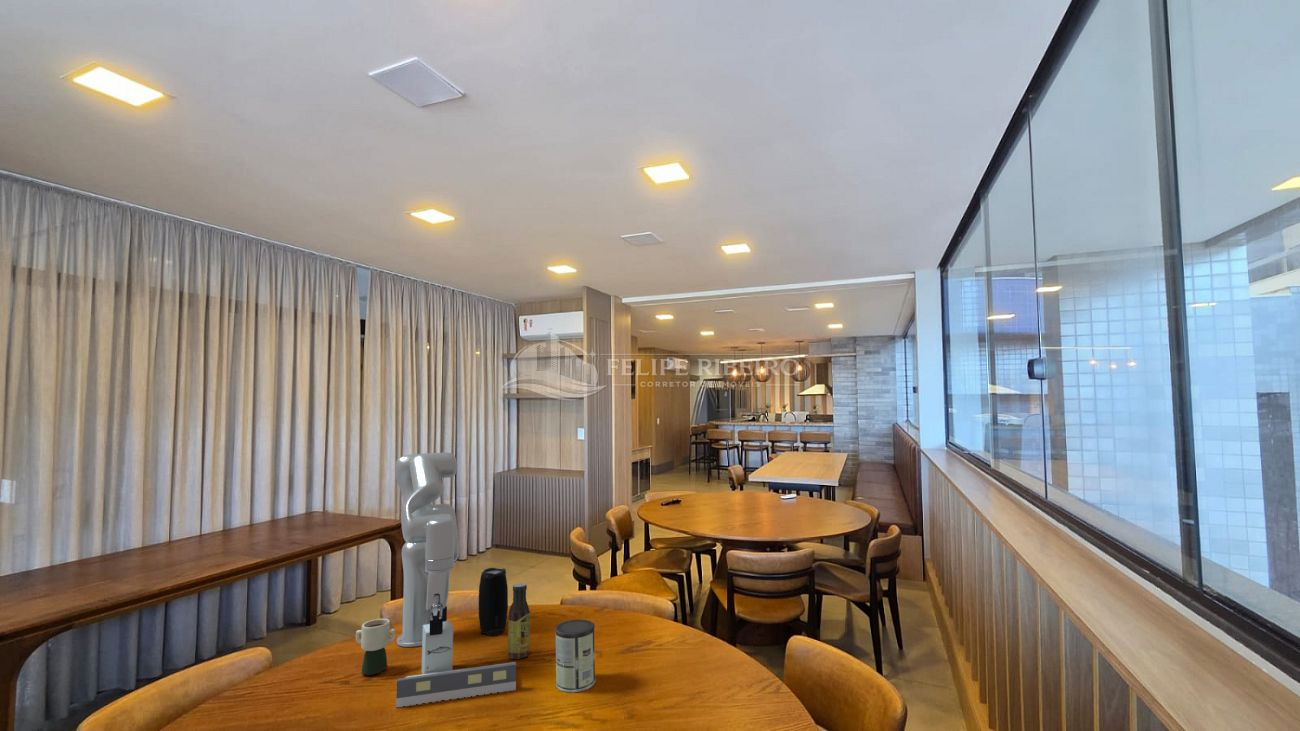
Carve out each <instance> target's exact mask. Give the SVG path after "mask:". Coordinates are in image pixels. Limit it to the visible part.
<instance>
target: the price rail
mask: <svg viewBox="0 0 1300 731" xmlns="http://www.w3.org/2000/svg"><path fill="white" fill-rule="evenodd" d="M509 663H510V664H503V663H501V664H502V665H496V664H494V665H495V666H489V665H487V666H488V667H481V666H479V667H480V668H474V667H472V668H473V669H466V668H465V669H466V670H459V669H457V670H458V671H451V672H443V673H436V674H429V675H422V674H420V675H421V676H415V675H413V676H414V677H407V676H406V677H407V678H406V677H401V678H400V677H399V678H397V680H396V698H403V697H410V696H417V695H424V694H431V693H438V692H445V691H452V690H459V689H466V688H473V687H480V686H487V685H493V684H500V683H507V682H514V681H516V682H517V662H516V663H511V662H509ZM396 698H395V699H396Z"/></svg>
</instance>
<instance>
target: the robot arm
mask: <svg viewBox="0 0 1300 731" xmlns="http://www.w3.org/2000/svg"><path fill="white" fill-rule="evenodd" d="M455 456H456V455H454V454H453V453H452V452H427V453H426V452H425V453H413V454H411V453H410V454H406V455H403V456H401V457H399V458H398V459H397V460H396V462H395V465H394V470H395V471H394V473H395V479H396V483H397V485H398V488H399V490H400V492H401V495H402V498H403V506H402V509H401V514H400V521H401V522H400V523H401V531H402V537H403V539H404V541H405V543H404V544H403V546H402V548H401V560H402V561H401V562H402V569H403V594H402V595H403V598H402V599H403V600H402V601H403V602H402V605H403V606H402V630H401V631H402V633H401V634H400V635H398V637H397V638H396V644H397V645H398V646H399V647H403V648H412V647H420V646H421V647H422V636H423V625H426V624H430V635H439V634H442V632H443V622H444V621H448V615H447V614H448V612H447V611H448V605H447V603H448V601H449V595H450V594H449V593H450V571H451V570H453V569H454V568H455V562H456V561H457V560H458V558H459V555H460V544H459V532H458V522H457V515H456V511H455V509H454V507H453V506H452V505H450V504H448V503H440V504H438V503H437V504H432V503H433V502H434V501H437V500H438V499H439V498H440V497H441V496H442V494H443V490H444V487H443V483H442V479H448V478H453V477H455V475H456V474H457V472H458V460H457V459H456V458H457V457H455Z"/></svg>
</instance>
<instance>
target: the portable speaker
mask: <svg viewBox="0 0 1300 731" xmlns="http://www.w3.org/2000/svg"><path fill="white" fill-rule="evenodd" d="M507 580H508V579H507V571H506V568H498V567H497V568H495V567H488V568H485V569H484V570H483V571H481V574H480V579H479V584H478V585H479V586H478V621H479V628H480V634H481V635H482V634H483V635H484V634H487V635H488V636H489V637H495V636H499V635H501V634H502V633H503V631H504V630H505V629H506V627H507V620H508V612H509V610H508V609H509V597H508V595H509V594H508V592H509V591H508V590H509V589H508V581H507ZM503 629H504V630H503ZM498 634H499V635H498ZM494 635H495V636H494Z"/></svg>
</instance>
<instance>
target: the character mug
mask: <svg viewBox="0 0 1300 731" xmlns="http://www.w3.org/2000/svg"><path fill="white" fill-rule="evenodd" d="M360 635H361V637H360ZM395 641H396V629H395V628H391V621H390V619H388V618H378V619H377V618H376V619H371V620H368V621H365V622H363V623H362V624H361V629H358V630H356V632H355V642H356V643H360V647H361V650H362V651H364V652H365V653H364V654H363V660H362V666H361V673H362V674H363V675H366V676H371V675H376V674H378V673H380V672H382V671H384V670H386V669H387V668H388V659H387V652H386V649H385V648H386V647H387V646H388V645H389V643H390V642H395Z"/></svg>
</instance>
